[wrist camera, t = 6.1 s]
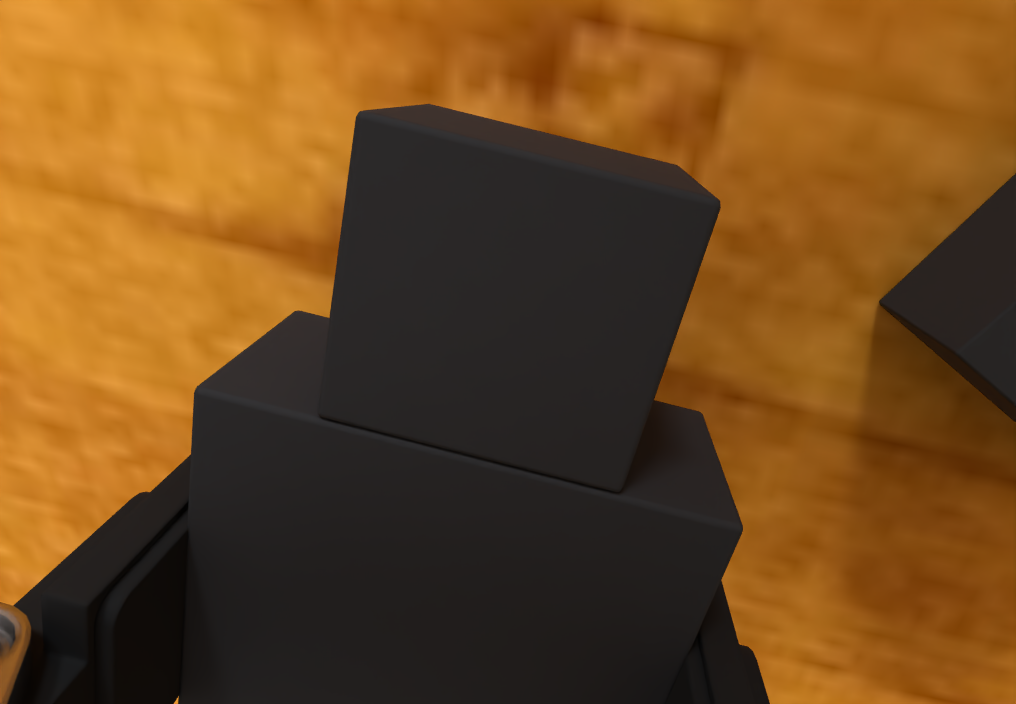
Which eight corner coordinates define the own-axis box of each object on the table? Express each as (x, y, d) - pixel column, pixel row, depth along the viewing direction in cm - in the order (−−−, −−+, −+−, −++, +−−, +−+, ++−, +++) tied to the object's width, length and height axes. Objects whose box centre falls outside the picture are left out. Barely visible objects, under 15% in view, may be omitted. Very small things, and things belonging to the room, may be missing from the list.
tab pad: (259, 639, 13) (171, 788, 10) (321, 77, 9) (206, 72, 6) (583, 724, 13) (583, 897, 10) (787, 191, 9) (875, 237, 6)
